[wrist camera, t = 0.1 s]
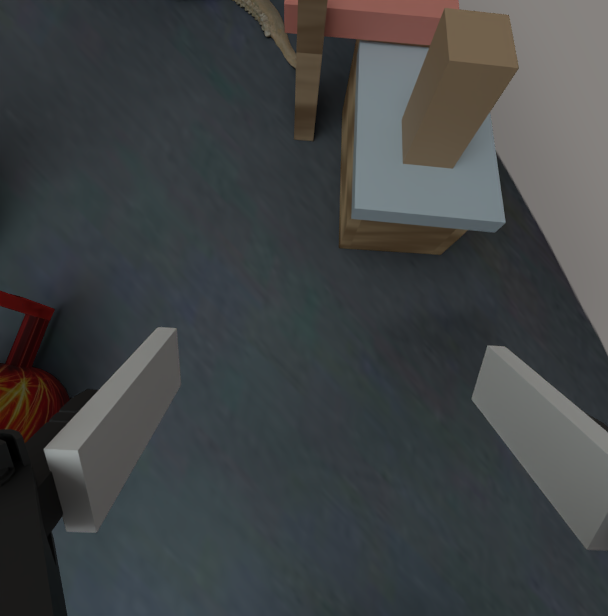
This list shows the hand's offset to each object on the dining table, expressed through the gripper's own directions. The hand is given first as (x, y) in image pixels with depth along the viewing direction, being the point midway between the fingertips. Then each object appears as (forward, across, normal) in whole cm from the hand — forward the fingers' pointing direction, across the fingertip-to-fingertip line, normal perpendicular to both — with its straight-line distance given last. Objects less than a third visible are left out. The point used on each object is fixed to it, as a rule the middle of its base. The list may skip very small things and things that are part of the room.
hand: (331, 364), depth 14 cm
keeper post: (+28, +2, -13) cm, 31 cm away
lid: (+16, -7, -11) cm, 21 cm away
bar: (+21, -3, -19) cm, 28 cm away
